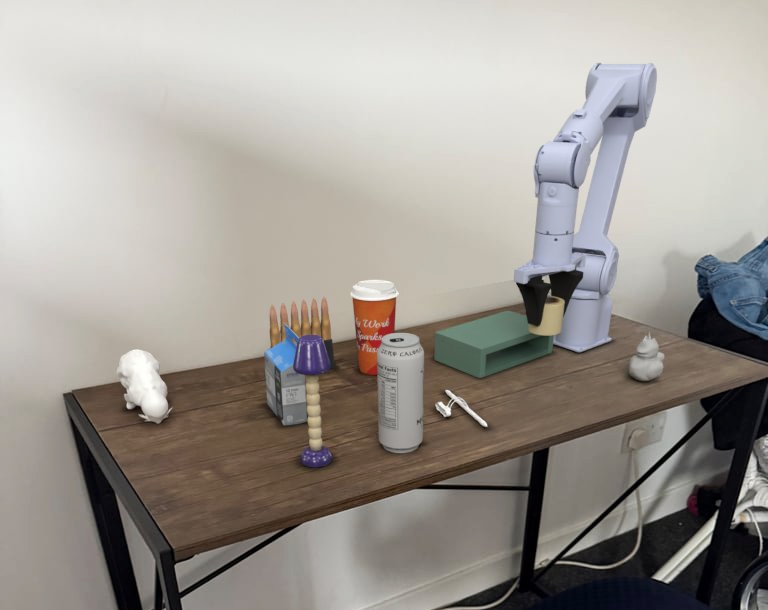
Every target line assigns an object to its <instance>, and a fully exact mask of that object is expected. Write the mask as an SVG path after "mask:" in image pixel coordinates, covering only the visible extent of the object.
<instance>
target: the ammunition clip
mask: <svg viewBox="0 0 768 610" xmlns="http://www.w3.org/2000/svg"><path fill="white" fill-rule="evenodd" d="M286 307H287V306H286V305H285V303H284V302H282V303H281V306H280V314H279V317H280V326H279V322H278V315H277V312H276V311H277V310H276V307H275V306H274V304H271V305H270V309H269V341H270V348H272V347H274V346H276V345H277V344H279V343H281V342H282V341H284V340H285V339H286V334H285V327H284V323H285V324H286V325H287V326H288V327H289V328H290V329H291V330H292V331H293V332H294V333H295V334H296V335H297V336H298V337H299V338H300V337H301V336H304V335H318V336H321V337H322V339H323V341H324V344H325V347H326V350H327V354H328V357H329V360H330V364H331V368H330V370H334V369H335V368H336V364H335V363H336V361H335V354H334V344H333V339H332V330H331V329H332V327H331V321H330V313H329V306H328V301H327V298H326V297H325V296H323V297H322V299H321V305H320V314H319V307H318V304H317V301H316V299H315V297H314V298H313V297H312V301H311V305H310V317H309V309H308V304H307V302H306V300H305V299H303V300H302V301H301V306H300V319H299V311H298V307H297V305H296V302H295V301H292V302H291V306H290V323H289V316H288V311H287V308H286ZM319 315H320V316H319ZM279 327H280V328H279ZM291 338H292V337H291ZM292 341H293V342H294V343H295V344H296V345H297V343H296V341H295V340H294V337H293V338H292ZM270 348H269V349H270Z"/></svg>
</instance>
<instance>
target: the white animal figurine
mask: <svg viewBox="0 0 768 610" xmlns="http://www.w3.org/2000/svg"><path fill="white" fill-rule="evenodd" d="M160 366H161V364H160V362H159V361H158V360H157V359H156V358H155V357H154V355H153V354H152V353H150V352H148V351H146V350H143V349H137V348H135V349H131V350H130V351H128V352H126V353H124V354H123V355H121V357H120V358H119V363H118V367H117V368H116V375H117V377H118V379H119V382H120V384H121V386H122V387H124V388H125V389H126V393H124V394H123V398H124V400H125V401H126V406H125V407H126V408H127V409H128V410H133V409H135V408H136V407H140V408H141V410H142V413H143V414H138V416H139V417H140V418H142V419H145V422H152V423H155V424H158V425H159V424H161V423H162V422H163V420H164V419H166V418H168V417H169V413H170V412H171V411H172V409H173V407H171V408H169V403H168V400H167V396H168V393H169V392H168V386H167V384H166V382H165V381H163V379H162V377H161V375H160V374H159V372H160V368H161V367H160Z"/></svg>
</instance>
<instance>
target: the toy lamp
mask: <svg viewBox="0 0 768 610" xmlns="http://www.w3.org/2000/svg"><path fill="white" fill-rule="evenodd" d="M330 368H331V364H330V360H329V357H328V354H327V350H326V347H325V344H324V341H323V339H322V337H321V336H318V335H304V336H301V337H300V338H299V339H298V342H297V348H296V353H295V358H294V363H293V369H294V371H295V372H297V373H299V374H302V375H305V389H306V407H307V426H308V430H307V431H308V432H307V434H308V437H309V440H308V447H306V448H305V449H304V450H303V451H302V453H301V455H300V464H301V465H303V466H304V467H308V468H322V467H325V466H327V465H330V464H331V463H332V462H333V455H332V452H331V451H330V449H328V447H326V446H324V445H323V443H324V442H323V438H322V436H323V429H322V416H321V411H322V409H321V405H320V402H321V395H320V393H319V391H320V382H319V378H320V375H323V374H325V373H328V372H329V371H330V370H331V369H330Z"/></svg>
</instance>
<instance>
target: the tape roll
mask: <svg viewBox="0 0 768 610" xmlns="http://www.w3.org/2000/svg"><path fill="white" fill-rule="evenodd" d="M564 304H565V301H564V300H563V299H561V298H559V297H554V296H551V295H548V296H547V298H546V302H545V305H544V311H543V317H542V321H541V324H540V326H534V325H531V324H529V327H528V330H529V331H530V332H531V333H533V334H536V335H543V336H551V335H554V336H555V335H557V334H559V333H561V330H562V321H563V313H564Z"/></svg>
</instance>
